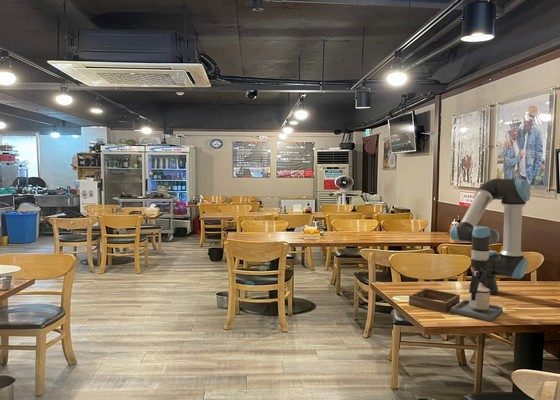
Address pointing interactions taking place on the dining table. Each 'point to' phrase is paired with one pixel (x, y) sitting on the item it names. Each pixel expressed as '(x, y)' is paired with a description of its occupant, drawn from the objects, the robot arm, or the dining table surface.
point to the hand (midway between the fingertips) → (477, 304)
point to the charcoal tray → (476, 311)
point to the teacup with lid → (482, 298)
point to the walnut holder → (420, 300)
